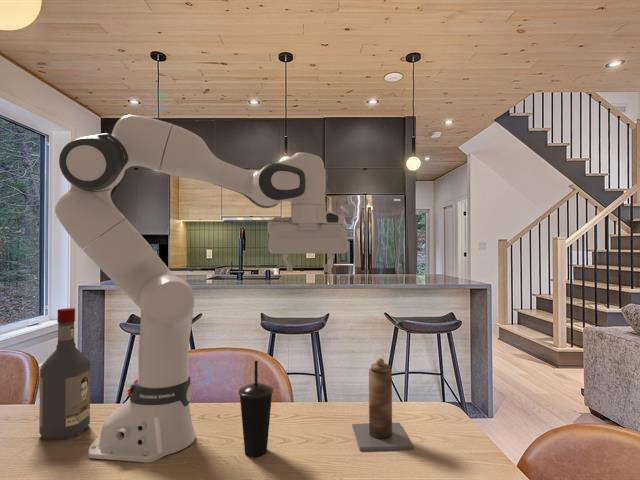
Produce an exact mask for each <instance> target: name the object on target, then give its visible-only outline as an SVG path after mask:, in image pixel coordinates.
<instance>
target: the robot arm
mask: <svg viewBox="0 0 640 480" xmlns="http://www.w3.org/2000/svg"><path fill="white" fill-rule="evenodd" d="M58 158H59V159H58V165H59V168H60V171H61V174H62V175H63V177H64V178H65V179H66V181H68V182H69V184H71V187H70V189H69V191H67V192H65V193H64V194H63V195H61V197H60V198H59V199H58V201H57V203H56V205H55V211H54V212H55V215H56V218H57V219H58V221H59V223H60V224H61V225H62V227H63V228H64V229H65V231H66V232H67V234H68V235H69V236H70V238H71V239H72V240H73V241H74V243H75V244H76V245H77V246H78V247H79V248H80V249H81V250H82V251H83V252H84V253H85V255H87V256H88V258H90V260H92V261H93V263H94V264H96V265H97V267H98V268H99V269H100V270H101V271H102V272H103V273H104V274H105V275H106V276H107V277H108V278H109V279H110V280H111V281H112V282H113V283H114V284H115V285H116V286H117V287H118V288H119V289H120V290H121V291H122V292H123V293H124V294H125V295H126V296H127V297H128V298H129V299H130V300H131V301H132V302H133V303H134V305H136V306H137V307H138V308H139V309H140V323H139V324H140V325H139V326H140V327H139V338H138V339H139V340H138V350H137V354H138V355H137V361H138V362H137V378H136V379H135V380H134V381H133V384H131V385H130V386H129V388H128V389H127V390H126V392H127V393H126V396H129V399H128V400H126V401H125V402H124V403H122V404H121V405H120V406H119V407H118V408H116V409H115V410H114V411H113V412H111V414H109V416H108V417H107V418H106V419H105V420H104V422H103V425H102V427H101V432H100V435H98V436H97V438H95V439H94V440H93V442H92V443H91V444H90V446H89V447H88V451H87V457H88V458H89V459H98V460H109V461H110V460H111V461H122V462H123V461H124V462H125V461H126V462H135V463H136V462H137V463H139V462H140V463H153V462H156V461H158V460H159V459H161V458H164V457H165V456H168V455H171V454H175V453H177V452H179V451H181V450H184V449H186V448H187V447H189V446H190V445H191V444H193V443H194V441H195V440H196V438H197V437H196V435H197V434H196V432H195V430H194V425H193V422H192V421H193V420H192V413H191V407H190V403H191V398H192V385H191V377H190V376H189V374H190V373H189V371H190V370H189V369H190V368H189V365H190V364H189V362H190V360H189V359H190V357H189V355H190V353H189V351H190V346H189V345H190V338H191V337H190V336H191V334H192V333H191V332H192V324H193V315H194V307H195V295H194V292H193V291H194V290H193V288H192V287H191V285H190V284H189V283H188V282H187V281H186V280H185V279H183V278H180V277H178V276H177V275H176V274H174V273H173V272H172V271H171V270H170V268H169V267H168V266H167V265H166V263H165V262H164V261H163V260H162V258H160V256H159V254H157V252H156V251H155V250H154V249H153V247H152V245H150V243H149V242H148V241H147V240H146V238H144V237H143V236H142V234H141V233H140V232H139V231H138V229H137V228H135V226H134V225H133V224H132V223H131V222H130V221H129V220H128V219H127V218H126V217H125V215H124V214H123V213H122V212H121V211H120V210H119V208H118V207H117V206H116V205H115V204H114V202H113V200H112V196H113V195H114V193H115V191H117V189H118V188H119V186H120V185H121V184H122V182H123V181H124V179H125V177H126V175H127V170H128V169H129V168H131V167H142V168H146V169H150V170H154V171H157V172H160V173H163V174H166V175H171V176H174V177H178V178H185V179H190V180H195V181H196V180H197V181H202V182H206V183H209V184H213V185H215V186H219V187H222V188H223V189H227V190H229V191H233V192H235V193H239V194H240V195H243V196H244V197H245V198H247V199H248V200H249V201H250V202H251V203H252V204H254V205H255V206H256V207H259V208H263V209H271V208H273V207H276V206H277V205H279V204H281V203H282V202H290V207H291V208H290V216H287V217H286V216H285V217H284V216H283V217H277V216H274V217H273V218H270V219H269V220H268V221H267V227H266V229H267V233H268V234H269V237H268V238H269V239H268V251H269V253H270V254H282V260H283V262H284V263H285V264H286V272H287V273H293V271H294V269H293V266H294V265H293V264H290V263H289V261H288V258H289V254H327V257H328V258H329V260H328V261H327V264H323V272H330V271H331V264H332V262H333V261H334V259H335V254H346V253H348V251H349V240H348V233H347V229H346V227H345V226H344V225H342V224H343V222H344V217H343V215H341V214H339V213H335V212H332V211H329V210H326V206H327V205H326V200H325V192H326V188H327V187H326V186H327V185H326V169H325V164H324V161H323V159H322V158H321V157H320V156H319V155H317V154H315V153H313V152H312V153H311V152H309V151H305V152H304V151H299V152H295V153H294V154H293V155H291V156H290V157H288V158H286V159H283V160H280V161H277V162H272V163H269V164H266V165H265V166H264V167H262V168H261V169H260V170H256V171H252V170H247V169H245V168H242V167H239V166H237V165H234V164H232V163H229V162H226V161H224V160H222V159H220V158H218V157H217V156H216V155H215V154H214V153H213V152H212V151H211V149H210V148H209V147H208V145H207V143H206V142H205V140H204V139H203V138H202V137H201V136H200V135H198V134H196V133H194V132H193V131H190V130H188V129H186V128H183V127H181V126H178V125H176V124H173V123H171V122H167V121H164V120H160V119H156V118H152V117H147V116H142V115H138V114H137V115H136V114H127V115H124V116H122V117H121V118H119V119H118V120H117V121H116V123H115V124H114V126H113V129H112V132H111V134H110V133H107V132H105V133H100V134H99V133H98V134H94V135H87V136H82V137H77V138H74V139H72V140H71V141H69V142H68V143H66V145H64V147H63V148H62V149H61V151H60V154H59V157H58Z"/></svg>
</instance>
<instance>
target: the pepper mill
mask: <svg viewBox="0 0 640 480" xmlns="http://www.w3.org/2000/svg"><path fill="white" fill-rule="evenodd" d="M390 367H391V366H390V364H388V363H385V361H384V359H383V358H381V357H380V358H377V359H376V362H373V363H372V364H370V368H369V369H368V423H369V435H370V436H371V437H373V438H376V439H388V438H390V437H391V436H392V423H393V380H392V379H393V377H392V376H393V372H392V370H391V369H390Z"/></svg>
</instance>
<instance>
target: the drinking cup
mask: <svg viewBox="0 0 640 480" xmlns="http://www.w3.org/2000/svg"><path fill="white" fill-rule="evenodd" d="M258 365H259V364H258V360H254V382H253V383H249V384H247V385H244V386H242V387H240V388H239V389H238V395H239V399H240V411H241V412H240V413H241V423H242V435H243V436H242V437H243V445H244V446H243V448H244V454H245V456H247V457H250V458H260V457H263V456H264V455H265V454H266V453H267V452H268V442H269V432H270V431H269V430H270V420H271V419H270V418H271V410H272V409H271V408H272V399H273V398H272V396H273V393H274V388H273V386H271V385H269V384H265V383H261V382H259V381H258V380H259V379H258V376H259V375H258V371H259V370H258V369H259V367H258Z"/></svg>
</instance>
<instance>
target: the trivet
mask: <svg viewBox="0 0 640 480" xmlns="http://www.w3.org/2000/svg"><path fill="white" fill-rule="evenodd" d="M351 425H352V426H351V427H352V430H353V431H352V432H354V436H355V440H356V443H357V446H358V449H359V450H358V451H360V452H364V451H366V452H367V451H369V452H370V451H393V450H394V451H397V450H399V451H400V450H401V451H403V450H414V445H413V443H412V441H411V440H410V438H409V437H408V435H407V432H406V431H405V430H404V428H403V426H402V425H401V423H400V422H392V436H391V437H390V438H388V439H376V438H373V437H371V436H370V435H369V422H367V423H366V422H365V423H352V424H351Z"/></svg>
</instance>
